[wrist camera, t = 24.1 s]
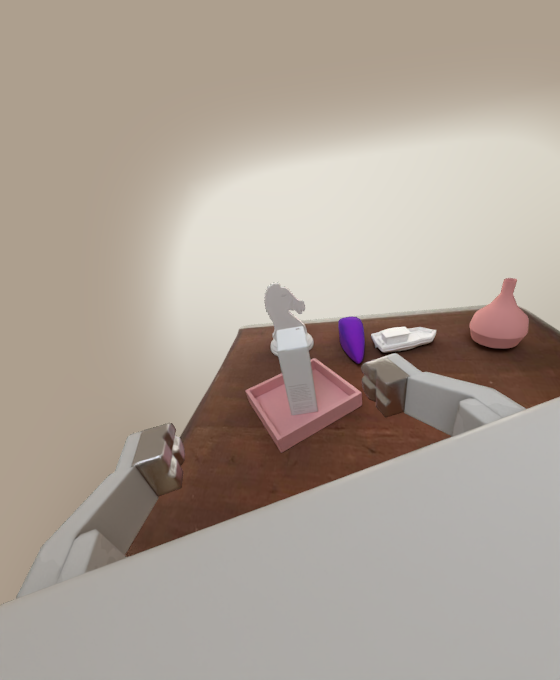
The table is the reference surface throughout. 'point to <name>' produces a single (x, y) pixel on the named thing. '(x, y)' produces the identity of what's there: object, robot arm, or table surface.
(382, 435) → the table surface
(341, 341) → the purple rounded wedge
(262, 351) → the table surface
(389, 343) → the white toy boat
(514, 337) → the pink vase
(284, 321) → the chess piece
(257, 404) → the tray
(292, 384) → the cosmetic box
